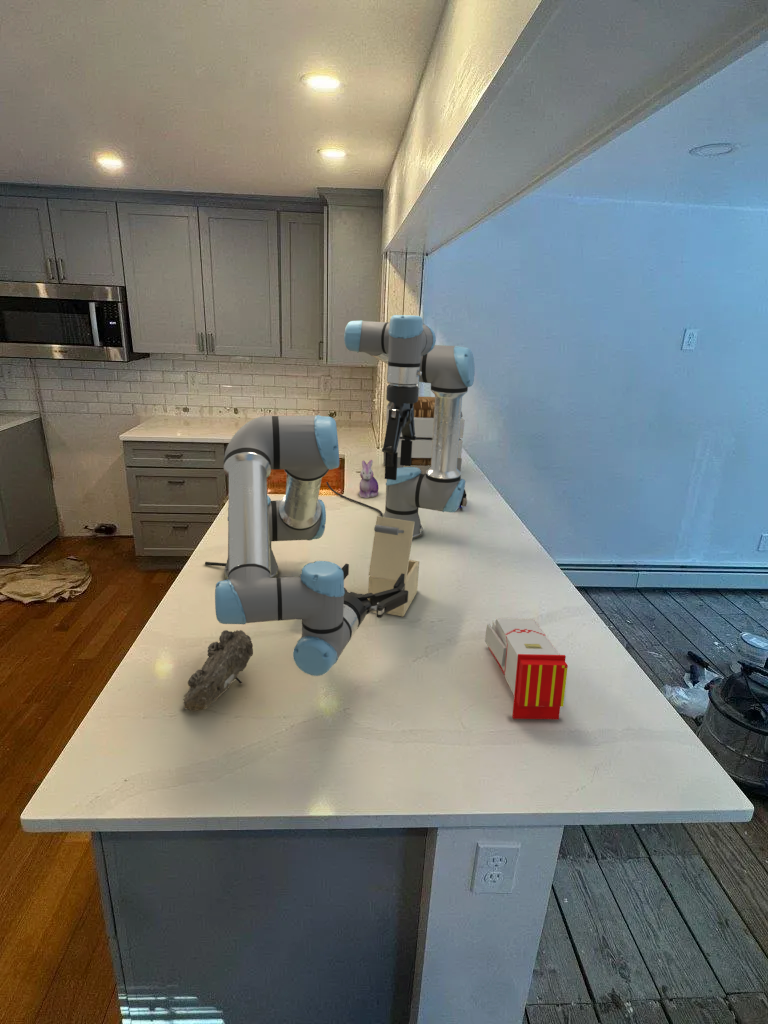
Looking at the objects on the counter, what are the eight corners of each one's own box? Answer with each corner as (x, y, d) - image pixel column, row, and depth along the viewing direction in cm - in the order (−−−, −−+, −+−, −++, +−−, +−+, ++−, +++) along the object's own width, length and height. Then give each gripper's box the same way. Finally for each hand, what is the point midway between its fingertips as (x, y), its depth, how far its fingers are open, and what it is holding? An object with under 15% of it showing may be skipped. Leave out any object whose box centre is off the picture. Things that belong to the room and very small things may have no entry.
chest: (383, 586, 162) (385, 555, 159) (417, 592, 159) (419, 561, 156) (367, 609, 149) (368, 577, 146) (403, 616, 146) (405, 583, 143)
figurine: (363, 499, 233) (364, 464, 228) (353, 492, 242) (354, 458, 236) (383, 497, 237) (385, 462, 232) (373, 490, 246) (374, 456, 241)
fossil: (205, 632, 127) (252, 602, 122) (234, 661, 130) (282, 632, 125) (161, 704, 108) (216, 672, 103) (197, 736, 111) (252, 705, 106)
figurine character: (467, 515, 225) (461, 499, 238) (469, 498, 221) (463, 482, 235) (450, 514, 224) (445, 498, 238) (452, 497, 221) (447, 482, 234)
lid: (378, 516, 146) (368, 515, 137) (414, 521, 143) (407, 520, 135) (369, 575, 146) (359, 577, 137) (406, 581, 143) (397, 584, 135)
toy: (531, 603, 136) (576, 661, 106) (526, 655, 139) (569, 725, 109) (481, 602, 135) (512, 660, 106) (477, 654, 138) (507, 724, 109)
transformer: (382, 463, 289) (386, 382, 275) (445, 464, 293) (451, 384, 279) (390, 482, 257) (394, 392, 243) (460, 483, 261) (468, 394, 247)
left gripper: (285, 622, 117) (324, 579, 137) (400, 647, 111) (425, 597, 130) (284, 590, 115) (325, 550, 134) (403, 613, 108) (427, 568, 127)
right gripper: (404, 392, 120) (399, 487, 128) (430, 380, 143) (424, 461, 150) (371, 389, 122) (367, 483, 130) (401, 378, 145) (397, 458, 152)
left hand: (374, 573), depth 132 cm, fingers open, 13 cm apart
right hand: (398, 472), depth 140 cm, fingers open, 13 cm apart
